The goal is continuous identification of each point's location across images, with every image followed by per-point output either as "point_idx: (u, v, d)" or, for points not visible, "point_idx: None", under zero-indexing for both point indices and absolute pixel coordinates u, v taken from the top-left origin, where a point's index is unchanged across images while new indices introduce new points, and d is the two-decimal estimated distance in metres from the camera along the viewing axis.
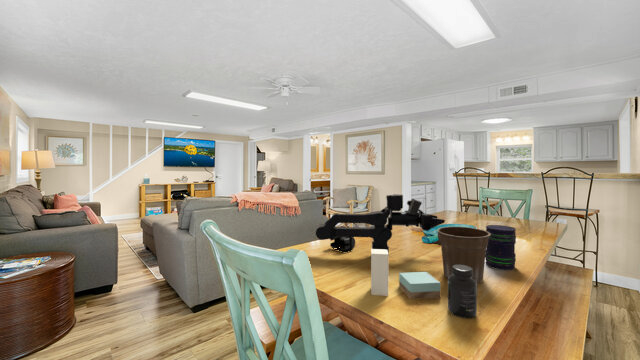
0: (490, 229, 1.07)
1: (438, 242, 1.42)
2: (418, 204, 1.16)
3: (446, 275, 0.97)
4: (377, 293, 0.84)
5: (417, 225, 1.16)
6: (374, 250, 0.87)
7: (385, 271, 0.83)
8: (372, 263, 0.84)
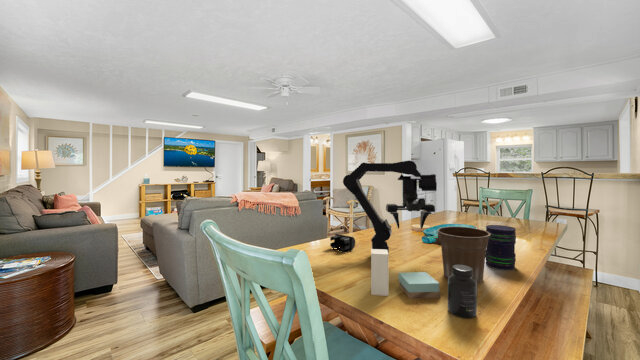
0: (490, 229, 1.07)
1: (438, 242, 1.41)
2: (407, 207, 1.10)
3: (446, 275, 0.97)
4: (377, 293, 0.84)
5: (402, 203, 1.18)
6: (374, 250, 0.87)
7: (385, 271, 0.83)
8: (372, 263, 0.84)
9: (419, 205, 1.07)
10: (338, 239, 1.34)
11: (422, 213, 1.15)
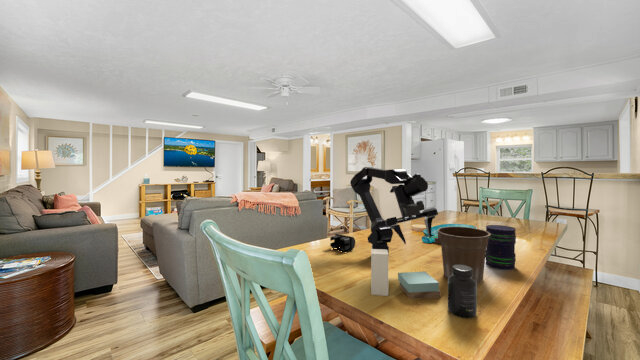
0: (490, 229, 1.07)
1: (438, 242, 1.41)
2: (405, 213, 0.99)
3: (446, 275, 0.97)
4: (377, 293, 0.84)
5: None
6: (374, 250, 0.87)
7: (385, 271, 0.83)
8: (372, 263, 0.84)
9: (417, 207, 0.98)
10: (338, 239, 1.34)
11: (426, 220, 1.04)
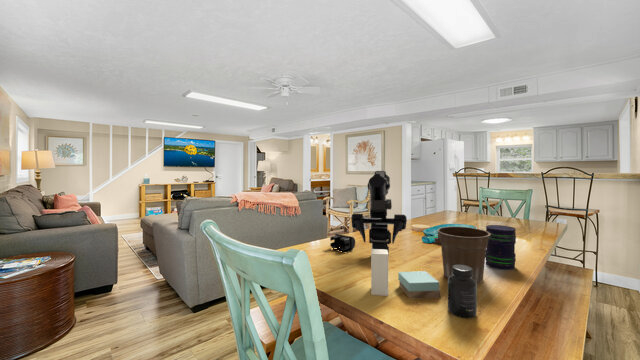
0: (490, 229, 1.07)
1: (438, 242, 1.41)
2: (371, 207, 0.96)
3: (446, 275, 0.97)
4: (377, 293, 0.84)
5: None
6: (374, 250, 0.87)
7: (385, 271, 0.83)
8: (372, 263, 0.84)
9: (384, 202, 0.94)
10: (338, 239, 1.34)
11: None
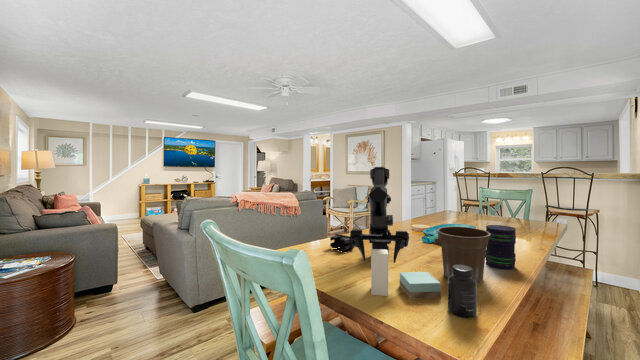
0: (490, 229, 1.07)
1: (438, 243, 1.40)
2: (371, 223, 0.90)
3: (446, 275, 0.97)
4: (377, 293, 0.84)
5: None
6: (374, 250, 0.87)
7: (385, 271, 0.83)
8: (372, 263, 0.84)
9: (385, 218, 0.88)
10: (338, 239, 1.34)
11: None
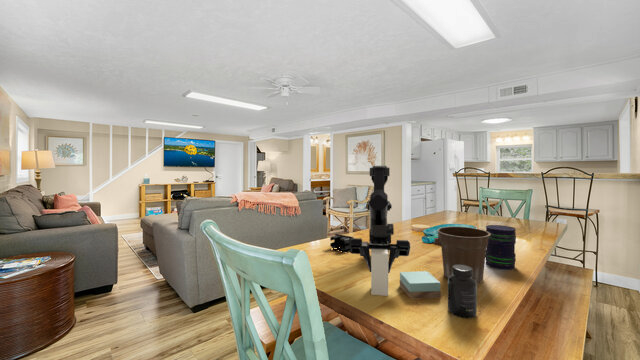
0: (490, 229, 1.07)
1: (438, 243, 1.40)
2: (371, 232, 0.87)
3: (446, 275, 0.97)
4: (377, 293, 0.84)
5: None
6: (374, 250, 0.87)
7: (385, 271, 0.83)
8: (372, 263, 0.84)
9: (385, 227, 0.86)
10: (338, 239, 1.34)
11: None
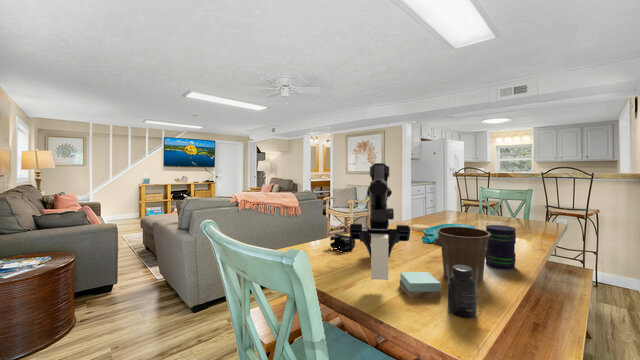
0: (490, 229, 1.07)
1: (438, 243, 1.40)
2: None
3: (446, 275, 0.97)
4: (377, 277, 0.84)
5: None
6: (374, 235, 0.87)
7: (385, 255, 0.83)
8: (372, 247, 0.84)
9: (385, 211, 0.85)
10: (338, 239, 1.34)
11: None
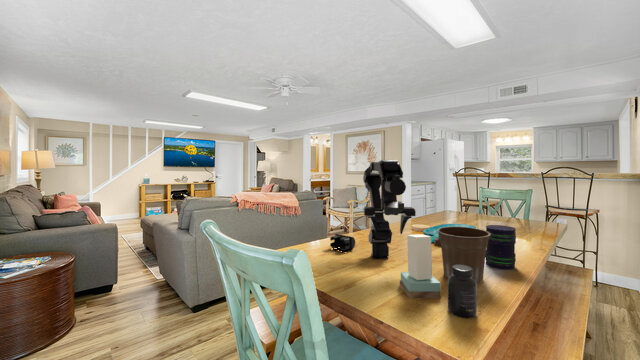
0: (490, 229, 1.07)
1: (439, 244, 1.38)
2: (384, 210, 1.01)
3: (446, 275, 0.97)
4: (423, 277, 0.83)
5: None
6: (412, 235, 0.87)
7: (429, 254, 0.84)
8: (417, 247, 0.83)
9: (397, 209, 0.98)
10: (338, 239, 1.34)
11: (402, 217, 1.06)
